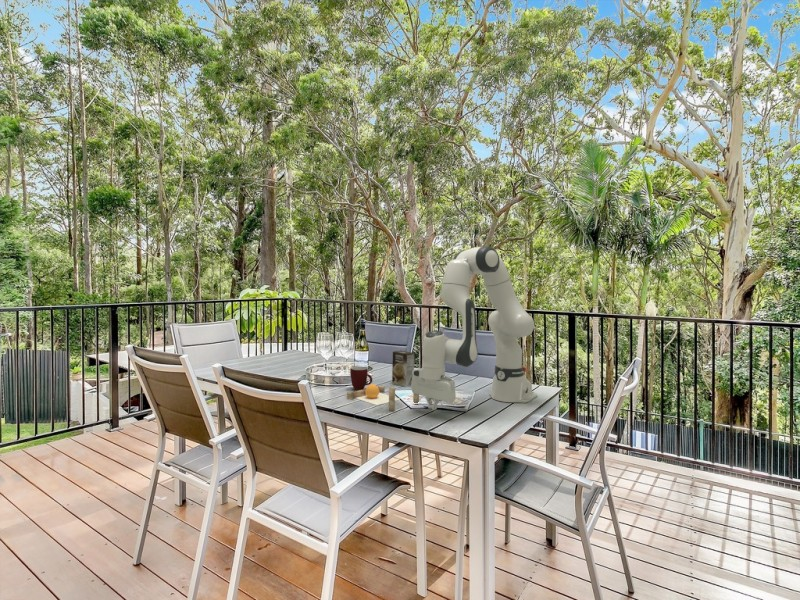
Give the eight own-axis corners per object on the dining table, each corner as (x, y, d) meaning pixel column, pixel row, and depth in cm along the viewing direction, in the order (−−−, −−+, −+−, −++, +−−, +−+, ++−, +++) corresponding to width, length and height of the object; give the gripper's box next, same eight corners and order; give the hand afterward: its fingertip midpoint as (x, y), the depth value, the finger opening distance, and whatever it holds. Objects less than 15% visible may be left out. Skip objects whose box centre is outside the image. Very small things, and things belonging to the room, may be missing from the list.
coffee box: (391, 384, 226) (392, 351, 225) (399, 381, 231) (400, 350, 230) (405, 387, 220) (406, 353, 219) (414, 385, 225) (414, 352, 224)
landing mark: (379, 393, 208) (379, 392, 208) (401, 399, 198) (401, 399, 198) (355, 398, 199) (355, 397, 199) (376, 405, 189) (376, 405, 189)
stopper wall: (381, 391, 212) (381, 385, 212) (384, 392, 211) (384, 386, 210) (346, 398, 198) (347, 392, 198) (349, 399, 197) (349, 393, 197)
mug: (374, 388, 217) (374, 367, 216) (370, 392, 209) (370, 370, 208) (352, 386, 219) (353, 366, 218) (347, 391, 211) (348, 369, 210)
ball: (377, 398, 202) (371, 386, 205) (383, 392, 198) (377, 380, 201) (366, 402, 198) (360, 390, 201) (373, 396, 194) (367, 383, 197)
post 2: (416, 402, 194) (416, 381, 193) (420, 404, 192) (420, 382, 191) (412, 403, 192) (412, 382, 191) (416, 405, 190) (416, 383, 190)
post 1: (391, 409, 184) (392, 386, 183) (396, 410, 182) (396, 388, 182) (387, 410, 182) (387, 387, 182) (391, 411, 181) (391, 389, 180)
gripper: (459, 377, 172) (458, 413, 173) (420, 368, 187) (419, 402, 187) (448, 379, 168) (447, 417, 168) (409, 370, 182) (408, 404, 183)
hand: (432, 409), depth 178 cm, fingers closed
